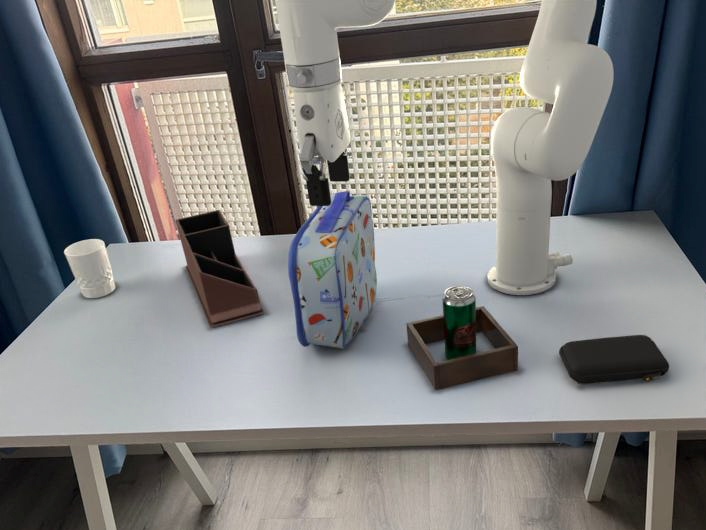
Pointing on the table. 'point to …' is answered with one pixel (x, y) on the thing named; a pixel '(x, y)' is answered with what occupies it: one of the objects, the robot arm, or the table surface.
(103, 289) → the white cup
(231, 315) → the desk organizer
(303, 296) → the lunch box
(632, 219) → the table surface
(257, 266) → the table surface
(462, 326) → the soda can
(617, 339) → the carrying case
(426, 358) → the crate
